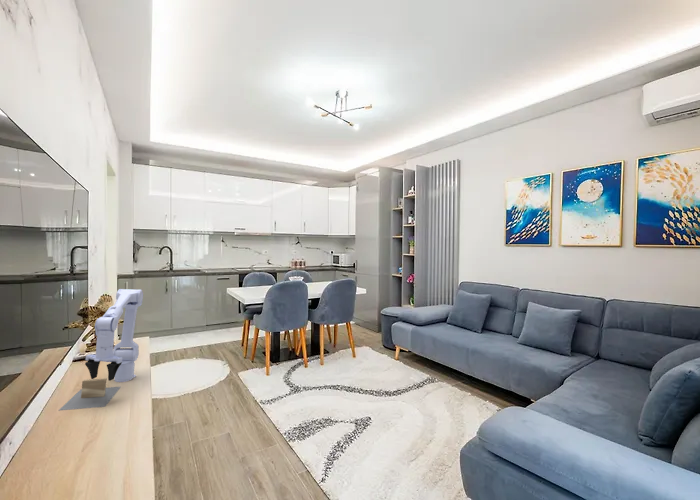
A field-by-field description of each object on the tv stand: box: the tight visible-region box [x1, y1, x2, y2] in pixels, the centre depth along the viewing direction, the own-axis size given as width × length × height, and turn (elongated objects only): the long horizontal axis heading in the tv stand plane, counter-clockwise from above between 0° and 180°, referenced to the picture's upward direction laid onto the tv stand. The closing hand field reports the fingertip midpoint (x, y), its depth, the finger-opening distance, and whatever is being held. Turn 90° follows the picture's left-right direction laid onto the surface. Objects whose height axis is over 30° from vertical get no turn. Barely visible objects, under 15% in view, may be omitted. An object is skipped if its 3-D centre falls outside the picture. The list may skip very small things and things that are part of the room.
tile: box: [81, 377, 108, 398], centre depth 138 cm, size 2×8×7 cm, turn 110°
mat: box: [58, 386, 121, 411], centre depth 137 cm, size 20×15×1 cm
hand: (102, 378), depth 135 cm, fingers open, 7 cm apart
